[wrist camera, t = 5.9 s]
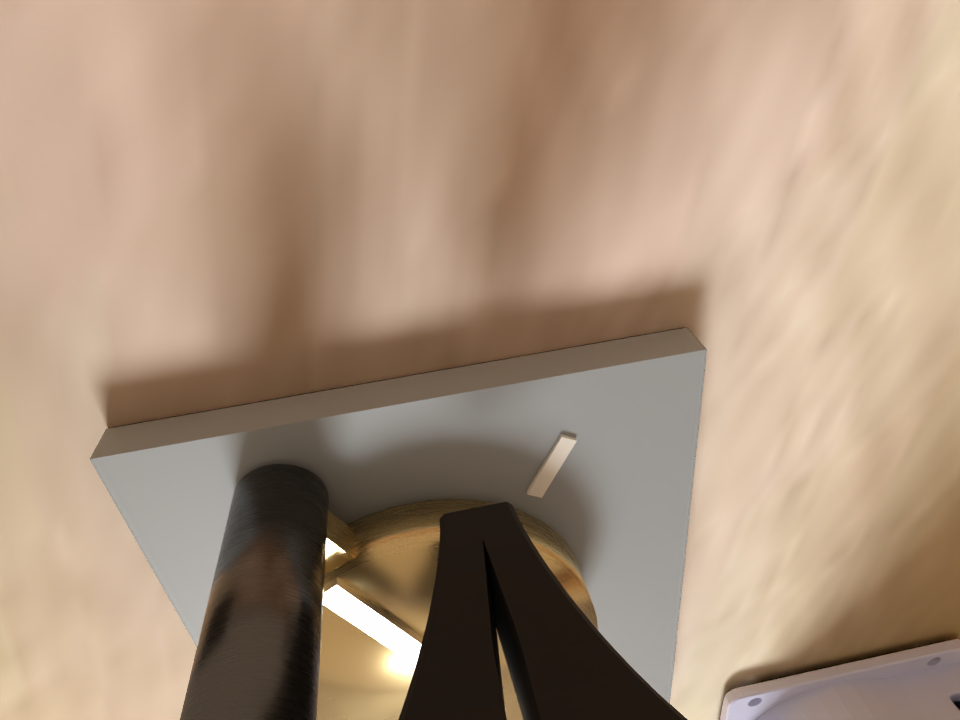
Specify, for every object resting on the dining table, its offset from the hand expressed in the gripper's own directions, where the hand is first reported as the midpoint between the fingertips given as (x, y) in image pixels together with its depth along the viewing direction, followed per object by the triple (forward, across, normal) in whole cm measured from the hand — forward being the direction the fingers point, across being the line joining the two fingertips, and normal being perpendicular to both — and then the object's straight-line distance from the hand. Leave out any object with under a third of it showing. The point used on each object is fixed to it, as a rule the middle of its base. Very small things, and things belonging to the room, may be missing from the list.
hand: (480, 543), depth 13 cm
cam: (+2, +2, +4) cm, 5 cm away
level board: (+3, +1, +6) cm, 7 cm away
